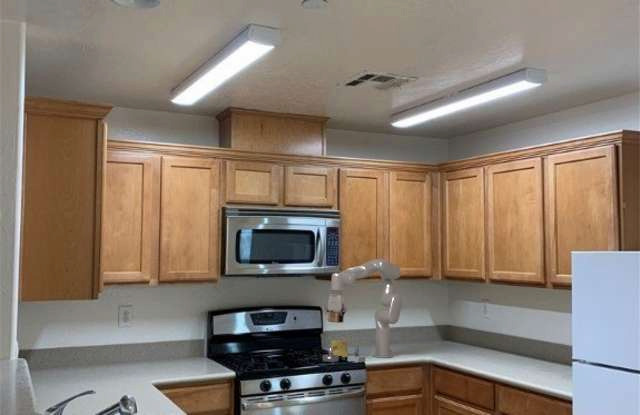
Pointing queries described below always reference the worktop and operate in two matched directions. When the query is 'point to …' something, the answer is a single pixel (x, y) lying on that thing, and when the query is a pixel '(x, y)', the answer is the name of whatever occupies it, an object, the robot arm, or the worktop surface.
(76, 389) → the worktop surface
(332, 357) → the hub
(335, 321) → the brown box
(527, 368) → the worktop surface
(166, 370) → the worktop surface
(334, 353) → the cheese
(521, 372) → the worktop surface
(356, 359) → the stand
